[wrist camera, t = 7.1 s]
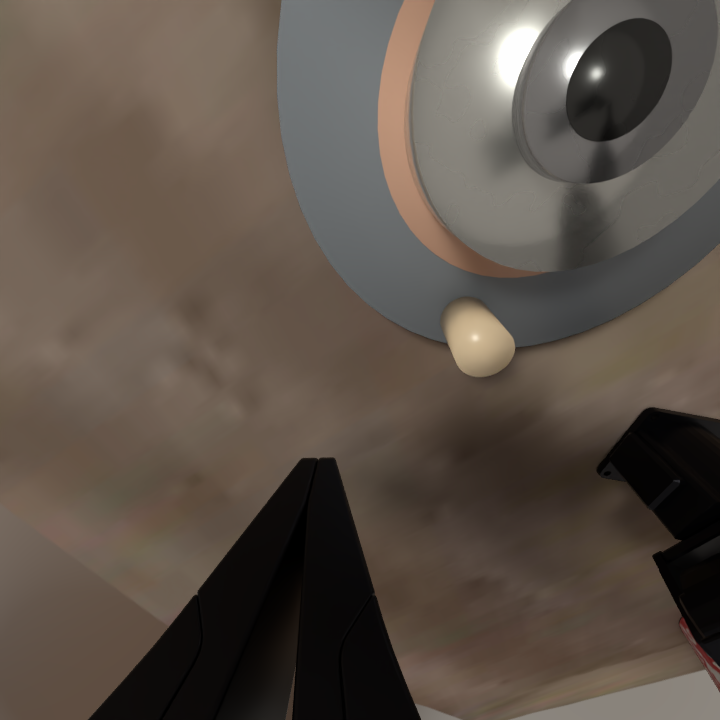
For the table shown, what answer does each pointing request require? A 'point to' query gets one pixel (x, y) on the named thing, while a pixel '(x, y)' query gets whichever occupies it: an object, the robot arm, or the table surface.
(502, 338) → the turntable
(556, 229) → the cover
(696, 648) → the mug
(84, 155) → the table surface
